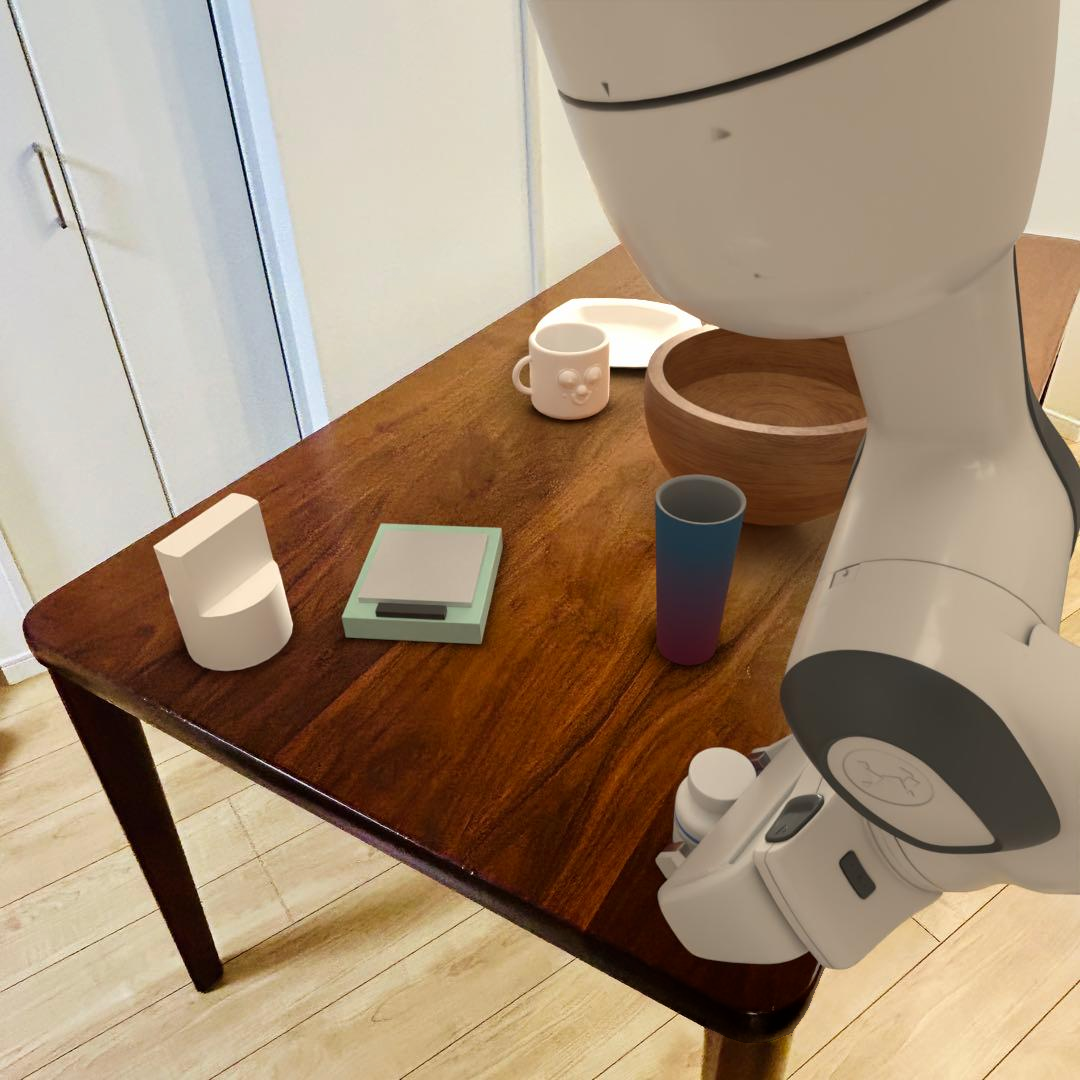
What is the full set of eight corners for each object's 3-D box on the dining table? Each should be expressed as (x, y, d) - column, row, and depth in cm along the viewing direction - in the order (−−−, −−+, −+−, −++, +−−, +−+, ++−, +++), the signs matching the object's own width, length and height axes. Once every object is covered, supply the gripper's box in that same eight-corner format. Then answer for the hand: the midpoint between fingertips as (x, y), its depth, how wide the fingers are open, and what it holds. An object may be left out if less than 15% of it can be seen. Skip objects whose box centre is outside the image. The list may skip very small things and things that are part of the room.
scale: (481, 644, 78) (478, 617, 76) (345, 637, 79) (339, 610, 77) (502, 547, 89) (501, 521, 87) (383, 542, 90) (379, 517, 88)
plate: (684, 388, 115) (685, 374, 114) (513, 368, 121) (512, 354, 120) (713, 319, 133) (714, 306, 131) (562, 304, 139) (562, 291, 138)
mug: (525, 435, 106) (522, 364, 101) (504, 397, 114) (501, 329, 109) (621, 420, 109) (623, 350, 103) (594, 383, 117) (595, 316, 111)
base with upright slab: (241, 684, 74) (206, 570, 67) (165, 649, 78) (123, 537, 71) (314, 620, 81) (288, 509, 74) (239, 590, 84) (208, 482, 77)
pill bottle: (750, 838, 61) (768, 741, 56) (755, 911, 57) (775, 814, 51) (669, 830, 62) (678, 734, 56) (668, 902, 58) (678, 805, 52)
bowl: (802, 615, 80) (830, 469, 71) (589, 508, 94) (590, 376, 85) (929, 497, 94) (966, 364, 85) (727, 420, 108) (741, 299, 99)
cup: (742, 659, 75) (764, 511, 66) (669, 682, 73) (682, 533, 64) (701, 610, 80) (716, 466, 72) (632, 630, 78) (639, 485, 70)
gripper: (944, 638, 51) (771, 679, 63) (753, 880, 39) (581, 878, 51) (1002, 730, 52) (819, 755, 63) (830, 999, 40) (642, 971, 51)
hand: (711, 812), depth 57 cm, fingers open, 8 cm apart
